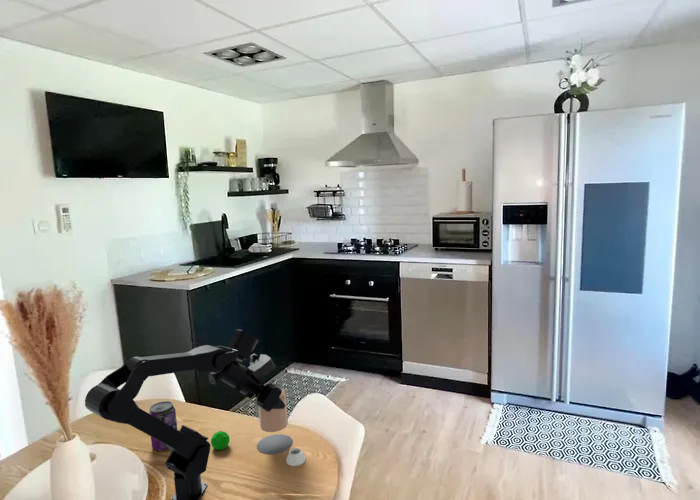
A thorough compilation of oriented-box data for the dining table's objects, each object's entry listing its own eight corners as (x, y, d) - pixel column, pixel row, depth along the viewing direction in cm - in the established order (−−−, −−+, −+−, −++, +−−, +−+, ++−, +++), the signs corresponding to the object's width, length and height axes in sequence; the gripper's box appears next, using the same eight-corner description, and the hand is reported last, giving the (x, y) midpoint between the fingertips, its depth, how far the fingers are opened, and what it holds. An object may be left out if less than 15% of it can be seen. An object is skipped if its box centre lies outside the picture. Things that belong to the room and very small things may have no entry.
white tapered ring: (284, 458, 117) (289, 469, 112) (283, 448, 117) (288, 458, 112) (302, 454, 119) (307, 464, 114) (301, 443, 119) (307, 453, 114)
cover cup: (283, 432, 118) (281, 400, 117) (257, 432, 119) (254, 400, 118) (290, 418, 126) (288, 388, 125) (265, 418, 126) (262, 388, 125)
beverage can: (169, 453, 122) (164, 412, 120) (146, 451, 123) (142, 411, 122) (183, 439, 129) (179, 400, 127) (162, 437, 130) (158, 399, 129)
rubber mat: (287, 455, 118) (287, 454, 118) (252, 455, 119) (251, 454, 119) (296, 435, 128) (296, 434, 128) (263, 435, 129) (262, 434, 129)
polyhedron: (207, 451, 122) (206, 435, 122) (220, 442, 127) (218, 426, 126) (221, 455, 120) (220, 438, 119) (233, 445, 124) (232, 429, 124)
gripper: (272, 358, 110) (311, 386, 118) (239, 341, 124) (276, 367, 133) (245, 398, 106) (288, 424, 114) (215, 376, 120) (254, 400, 129)
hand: (276, 401), depth 123 cm, fingers closed on cover cup, 8 cm apart
